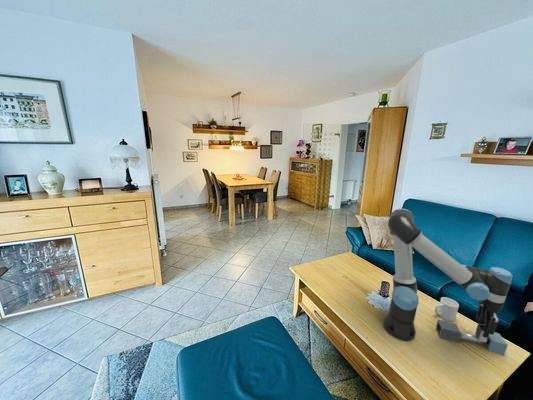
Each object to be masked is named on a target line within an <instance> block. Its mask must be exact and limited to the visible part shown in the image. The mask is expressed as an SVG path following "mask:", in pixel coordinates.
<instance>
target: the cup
mask: <svg viewBox="0 0 533 400" xmlns="http://www.w3.org/2000/svg"><path fill="white" fill-rule="evenodd" d="M459 306H460V305H459V303H458V302H457V301H456V300H455V299H452V298H449V297H446V296H445V297H444V296H443V297H440V301H439V303H438V304H436V306H435V307H434V313H435V314H436V315H438V316H439V317H440V318H441V319H442V320H443V321H447V322H454V321H455V320H456V317H457V314H458V310H459V308H460V307H459Z"/></svg>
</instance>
